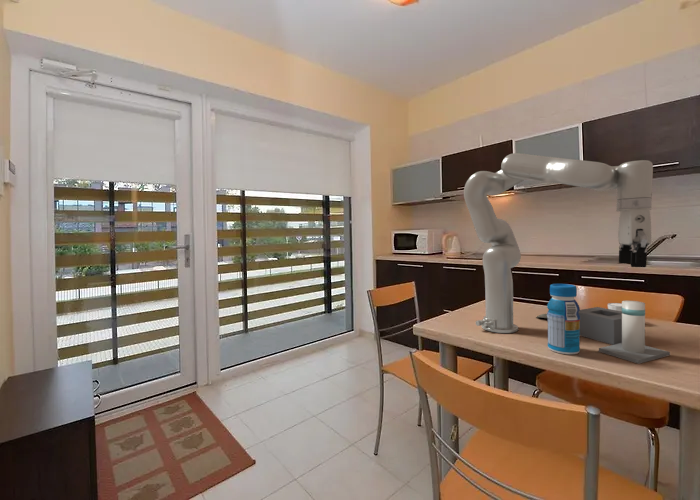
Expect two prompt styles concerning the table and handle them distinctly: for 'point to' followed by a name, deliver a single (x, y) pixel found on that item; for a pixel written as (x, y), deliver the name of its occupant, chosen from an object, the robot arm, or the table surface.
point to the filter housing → (601, 324)
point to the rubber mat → (634, 357)
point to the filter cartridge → (633, 326)
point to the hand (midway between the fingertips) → (631, 265)
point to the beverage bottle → (563, 319)
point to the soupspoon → (542, 316)
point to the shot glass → (615, 306)
